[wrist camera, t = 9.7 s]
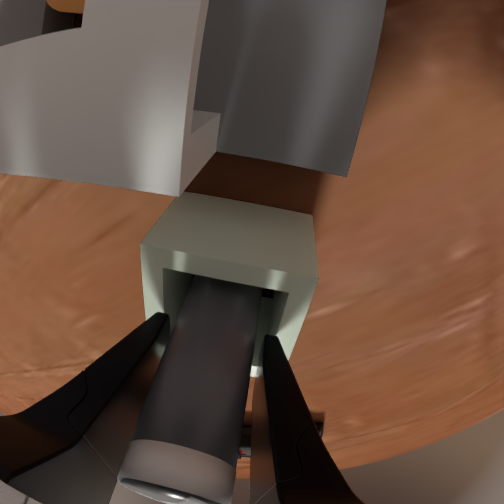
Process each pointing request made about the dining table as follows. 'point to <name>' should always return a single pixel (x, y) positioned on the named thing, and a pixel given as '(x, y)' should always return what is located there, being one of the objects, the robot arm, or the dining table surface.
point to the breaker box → (182, 87)
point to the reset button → (68, 5)
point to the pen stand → (233, 259)
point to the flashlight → (197, 399)
